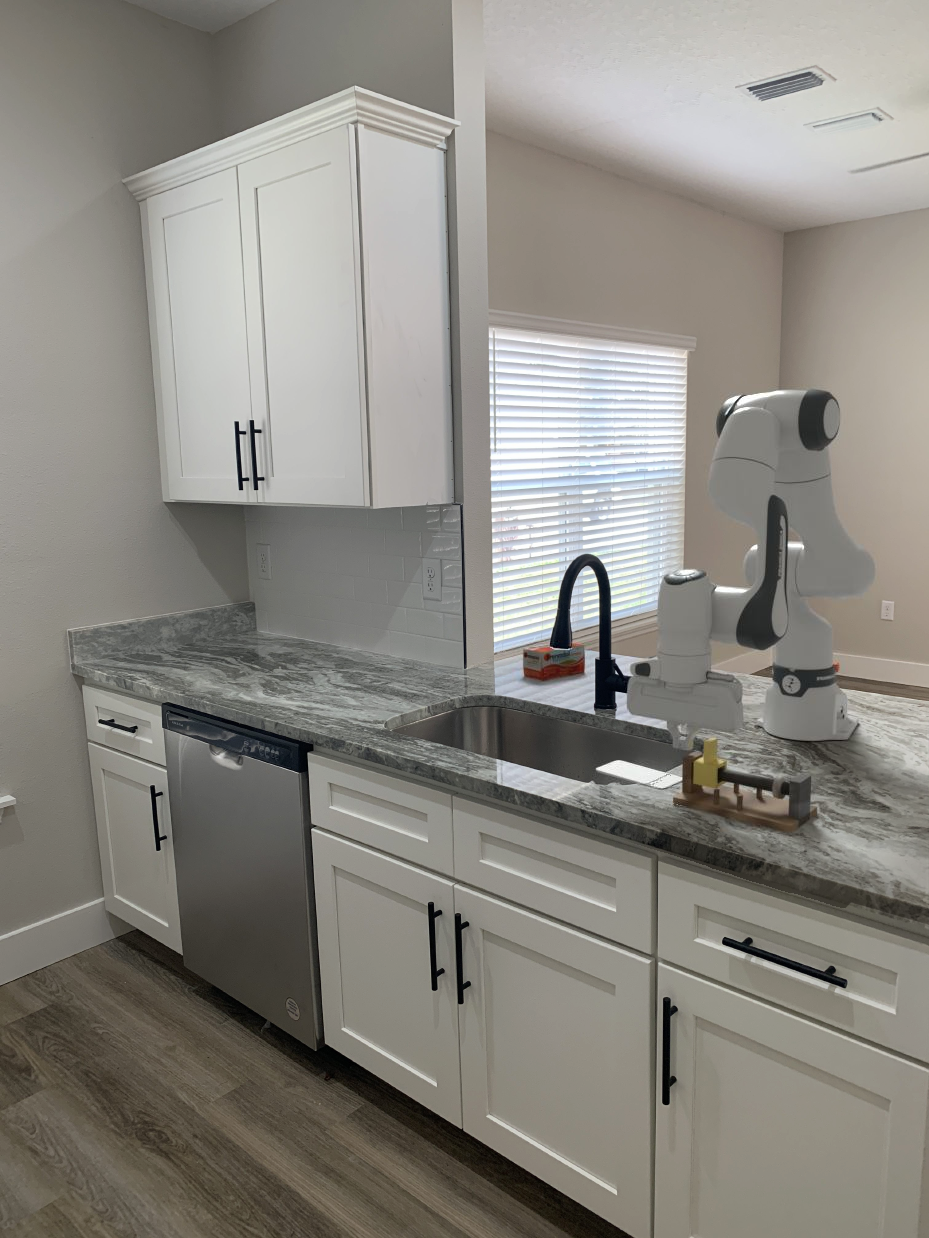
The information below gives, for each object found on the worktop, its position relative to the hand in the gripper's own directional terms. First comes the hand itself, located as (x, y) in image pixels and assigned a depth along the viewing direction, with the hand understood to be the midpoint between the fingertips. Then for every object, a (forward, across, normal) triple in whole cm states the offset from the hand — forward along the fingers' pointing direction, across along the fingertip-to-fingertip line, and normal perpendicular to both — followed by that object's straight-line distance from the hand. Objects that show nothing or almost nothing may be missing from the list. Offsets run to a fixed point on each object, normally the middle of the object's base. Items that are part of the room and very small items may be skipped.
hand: (682, 748), depth 158 cm
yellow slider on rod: (+8, -11, 0) cm, 14 cm away
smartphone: (+9, +11, -4) cm, 14 cm away
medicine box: (+8, +71, -59) cm, 93 cm away
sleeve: (+5, -5, 0) cm, 7 cm away
